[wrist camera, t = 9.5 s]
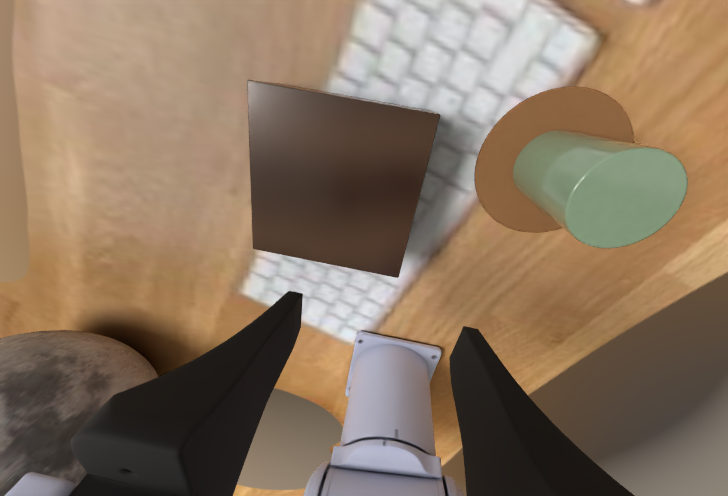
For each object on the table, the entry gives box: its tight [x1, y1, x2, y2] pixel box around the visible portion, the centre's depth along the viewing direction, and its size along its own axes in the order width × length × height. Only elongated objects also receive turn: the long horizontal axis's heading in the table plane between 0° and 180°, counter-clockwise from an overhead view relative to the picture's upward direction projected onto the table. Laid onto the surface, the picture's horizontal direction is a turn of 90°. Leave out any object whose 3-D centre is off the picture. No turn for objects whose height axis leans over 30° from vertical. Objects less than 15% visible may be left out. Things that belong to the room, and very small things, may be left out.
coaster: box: [475, 87, 633, 232], centre depth 18 cm, size 9×9×1 cm
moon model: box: [0, 330, 159, 496], centre depth 25 cm, size 20×20×20 cm
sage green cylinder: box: [513, 130, 688, 248], centre depth 15 cm, size 4×4×7 cm
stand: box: [247, 80, 440, 278], centre depth 19 cm, size 10×10×4 cm
